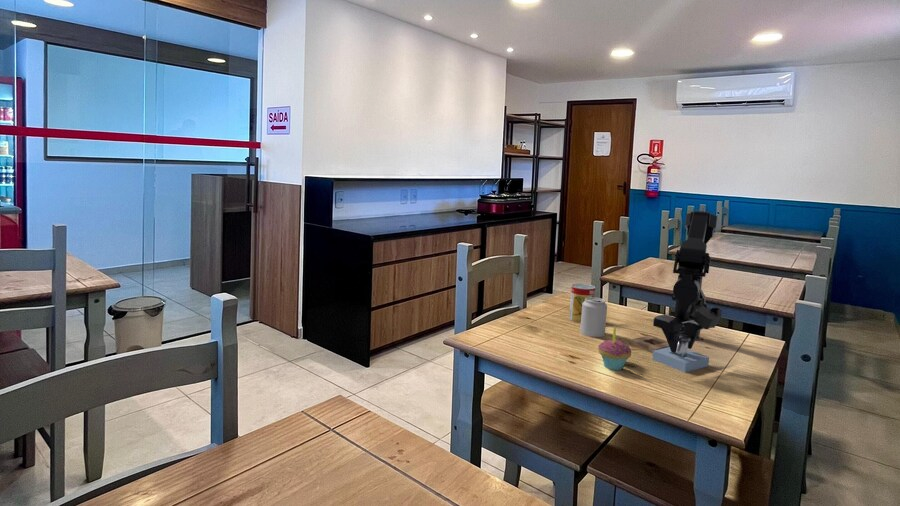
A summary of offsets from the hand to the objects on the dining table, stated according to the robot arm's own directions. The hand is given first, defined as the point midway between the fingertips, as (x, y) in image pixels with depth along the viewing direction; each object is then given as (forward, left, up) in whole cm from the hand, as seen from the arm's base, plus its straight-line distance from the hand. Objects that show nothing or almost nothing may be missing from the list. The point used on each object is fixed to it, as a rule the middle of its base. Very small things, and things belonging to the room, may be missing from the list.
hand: (681, 350), depth 143 cm
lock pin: (0, 0, -4) cm, 4 cm away
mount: (-4, -12, -4) cm, 13 cm away
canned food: (-7, -44, -5) cm, 45 cm away
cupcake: (+17, -8, -5) cm, 19 cm away
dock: (0, 0, -4) cm, 4 cm away
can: (+3, -29, -5) cm, 30 cm away
